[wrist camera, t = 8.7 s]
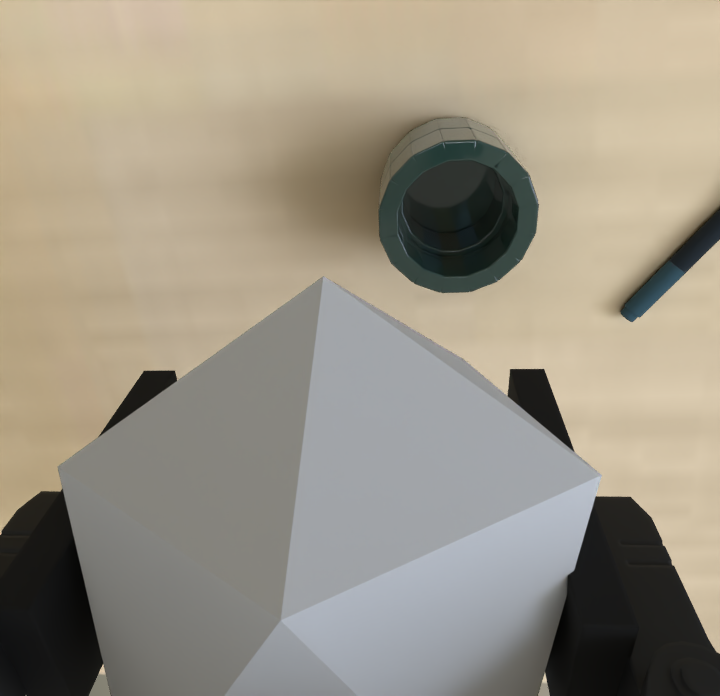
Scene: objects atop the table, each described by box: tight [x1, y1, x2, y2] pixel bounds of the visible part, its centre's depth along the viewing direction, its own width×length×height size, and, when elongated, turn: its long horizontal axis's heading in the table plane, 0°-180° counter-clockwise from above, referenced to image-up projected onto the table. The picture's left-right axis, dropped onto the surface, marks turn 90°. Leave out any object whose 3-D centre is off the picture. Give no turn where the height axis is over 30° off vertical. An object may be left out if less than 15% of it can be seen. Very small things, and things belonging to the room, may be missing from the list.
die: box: [58, 276, 602, 696], centre depth 11 cm, size 8×9×10 cm
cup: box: [379, 117, 539, 293], centre depth 27 cm, size 6×6×6 cm
